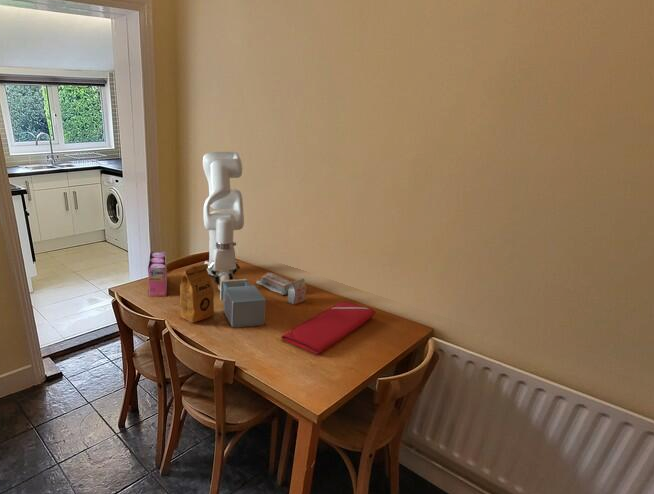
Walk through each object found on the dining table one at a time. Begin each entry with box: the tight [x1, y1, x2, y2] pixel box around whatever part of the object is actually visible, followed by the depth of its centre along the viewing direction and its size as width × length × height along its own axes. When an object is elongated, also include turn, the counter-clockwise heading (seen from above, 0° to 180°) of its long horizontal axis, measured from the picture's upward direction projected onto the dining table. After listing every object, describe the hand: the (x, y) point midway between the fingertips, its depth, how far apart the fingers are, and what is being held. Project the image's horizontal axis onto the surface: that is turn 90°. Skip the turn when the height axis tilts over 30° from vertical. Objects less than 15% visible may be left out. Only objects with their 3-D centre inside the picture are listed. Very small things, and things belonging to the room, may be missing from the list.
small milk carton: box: [287, 277, 307, 305], centre depth 175 cm, size 4×7×10 cm, turn 124°
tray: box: [219, 278, 250, 303], centre depth 173 cm, size 19×11×9 cm, turn 9°
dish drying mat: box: [281, 301, 377, 355], centre depth 154 cm, size 16×41×4 cm, turn 132°
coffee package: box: [179, 263, 215, 324], centre depth 160 cm, size 10×12×22 cm
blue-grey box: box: [223, 285, 267, 328], centre depth 161 cm, size 15×13×11 cm
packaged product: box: [255, 272, 292, 296], centre depth 190 cm, size 18×5×10 cm
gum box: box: [147, 251, 168, 297], centre depth 192 cm, size 24×8×14 cm, turn 2°
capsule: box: [217, 272, 230, 291], centre depth 189 cm, size 5×5×8 cm
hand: (223, 282), depth 189 cm, fingers closed on capsule, 5 cm apart
